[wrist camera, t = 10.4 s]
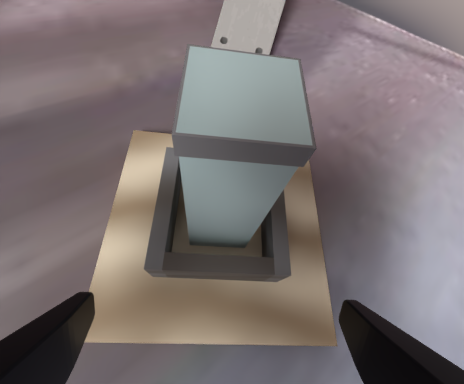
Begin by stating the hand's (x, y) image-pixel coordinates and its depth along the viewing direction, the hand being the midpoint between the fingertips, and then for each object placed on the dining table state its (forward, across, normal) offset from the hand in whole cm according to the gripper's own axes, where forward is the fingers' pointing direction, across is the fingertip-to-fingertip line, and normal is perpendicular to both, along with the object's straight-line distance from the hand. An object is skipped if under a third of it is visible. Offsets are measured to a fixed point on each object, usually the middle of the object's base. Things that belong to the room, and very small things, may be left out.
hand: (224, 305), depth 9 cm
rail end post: (+10, 0, +1) cm, 10 cm away
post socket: (+11, 0, +2) cm, 11 cm away
